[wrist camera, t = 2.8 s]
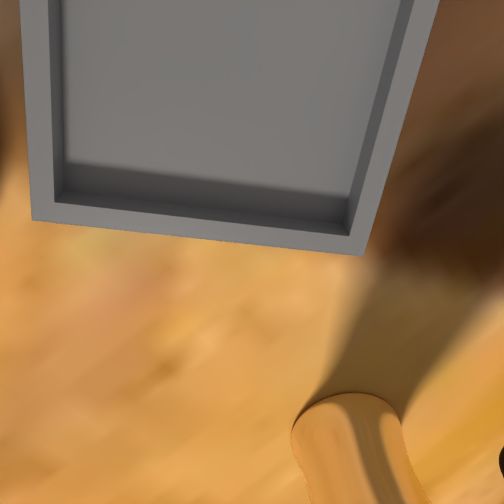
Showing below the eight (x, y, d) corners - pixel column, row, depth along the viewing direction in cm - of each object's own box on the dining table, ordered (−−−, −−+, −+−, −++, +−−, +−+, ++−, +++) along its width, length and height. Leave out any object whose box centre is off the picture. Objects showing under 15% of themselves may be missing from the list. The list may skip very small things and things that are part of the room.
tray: (47, 202, 18) (31, 220, 16) (31, -223, 13) (4, -259, 11) (351, 237, 20) (363, 256, 18) (451, -123, 14) (481, -140, 13)
